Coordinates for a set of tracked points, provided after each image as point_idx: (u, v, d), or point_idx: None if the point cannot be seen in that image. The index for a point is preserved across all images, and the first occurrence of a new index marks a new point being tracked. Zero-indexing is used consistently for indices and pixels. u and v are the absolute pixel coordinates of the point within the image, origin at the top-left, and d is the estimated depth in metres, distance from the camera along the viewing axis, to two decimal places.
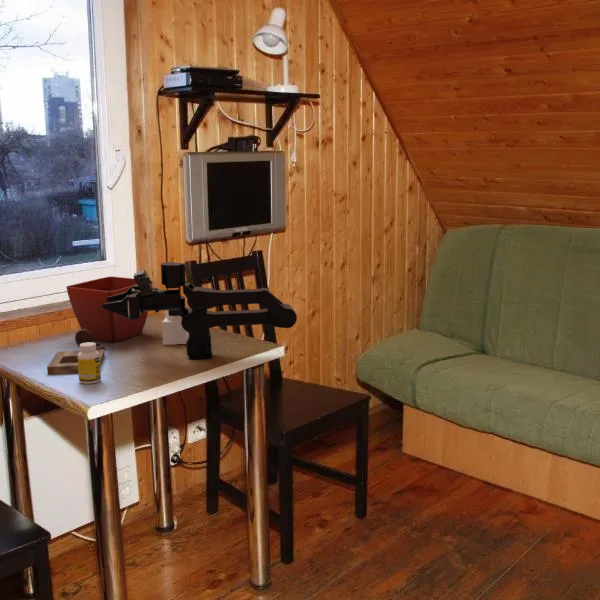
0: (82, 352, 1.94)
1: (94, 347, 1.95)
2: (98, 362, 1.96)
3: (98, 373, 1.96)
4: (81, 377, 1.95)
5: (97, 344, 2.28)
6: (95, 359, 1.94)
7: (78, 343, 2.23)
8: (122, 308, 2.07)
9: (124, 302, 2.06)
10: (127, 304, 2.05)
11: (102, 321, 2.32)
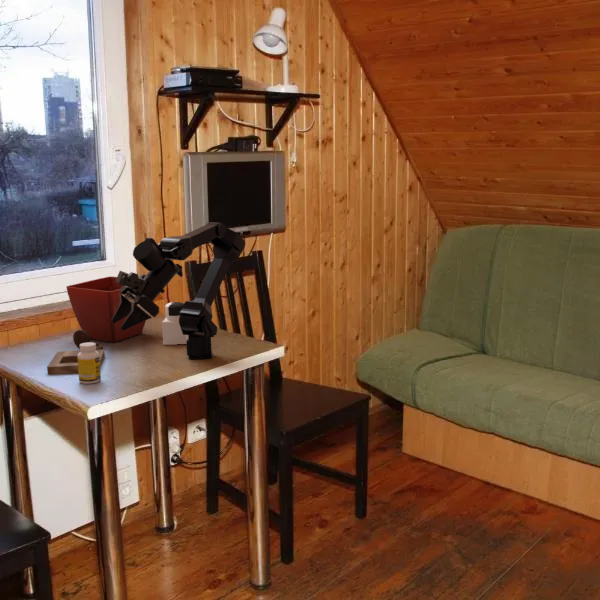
0: (82, 352, 1.94)
1: (94, 347, 1.95)
2: (98, 362, 1.96)
3: (98, 373, 1.96)
4: (81, 377, 1.95)
5: (96, 344, 2.28)
6: (95, 359, 1.94)
7: (76, 343, 2.23)
8: (138, 315, 1.94)
9: (136, 309, 1.93)
10: (140, 308, 1.92)
11: (102, 321, 2.32)
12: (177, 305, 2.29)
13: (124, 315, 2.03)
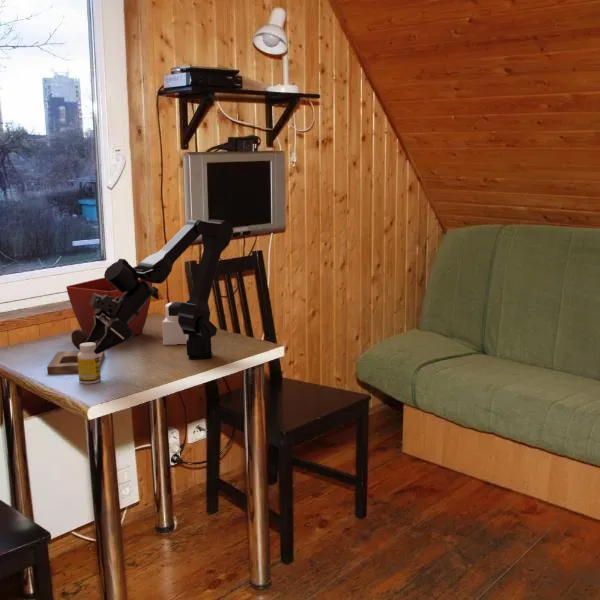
0: (82, 352, 1.94)
1: (94, 347, 1.95)
2: (98, 362, 1.96)
3: (98, 373, 1.96)
4: (81, 377, 1.95)
5: None
6: (95, 359, 1.94)
7: (74, 343, 2.23)
8: (112, 339, 1.92)
9: (109, 333, 1.91)
10: (114, 332, 1.90)
11: None
12: (177, 305, 2.29)
13: (98, 337, 2.01)
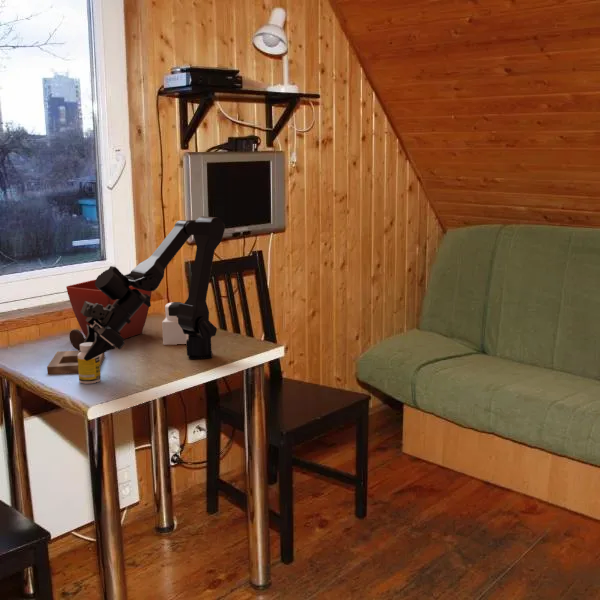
0: (82, 352, 1.94)
1: None
2: (98, 362, 1.96)
3: (98, 373, 1.96)
4: (81, 377, 1.95)
5: None
6: (95, 359, 1.94)
7: (72, 342, 2.24)
8: (102, 345, 1.93)
9: (99, 340, 1.92)
10: (103, 339, 1.91)
11: None
12: (177, 305, 2.29)
13: None
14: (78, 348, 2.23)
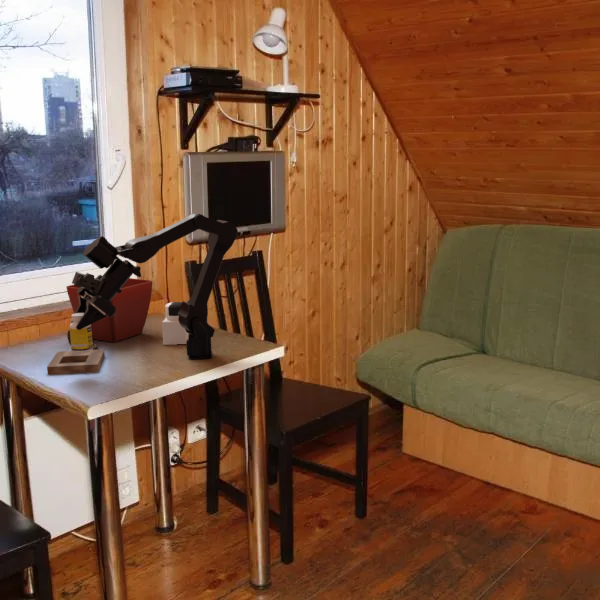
0: (74, 322, 1.98)
1: None
2: (90, 332, 2.00)
3: (90, 342, 2.00)
4: (74, 346, 1.99)
5: (93, 344, 2.28)
6: (86, 328, 1.98)
7: (69, 342, 2.24)
8: (93, 314, 1.97)
9: (90, 309, 1.96)
10: (95, 308, 1.95)
11: (102, 321, 2.32)
12: (177, 305, 2.29)
13: None
14: None
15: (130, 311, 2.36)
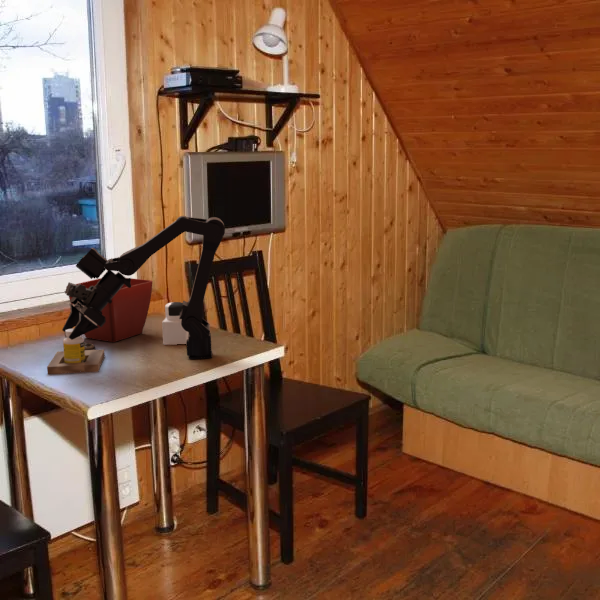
0: (67, 337, 2.07)
1: None
2: (83, 347, 2.09)
3: (83, 357, 2.09)
4: (67, 361, 2.08)
5: (90, 344, 2.28)
6: (79, 343, 2.07)
7: None
8: (86, 325, 2.04)
9: (83, 319, 2.03)
10: (87, 319, 2.02)
11: None
12: (177, 305, 2.29)
13: (74, 324, 2.13)
14: None
15: (130, 311, 2.36)
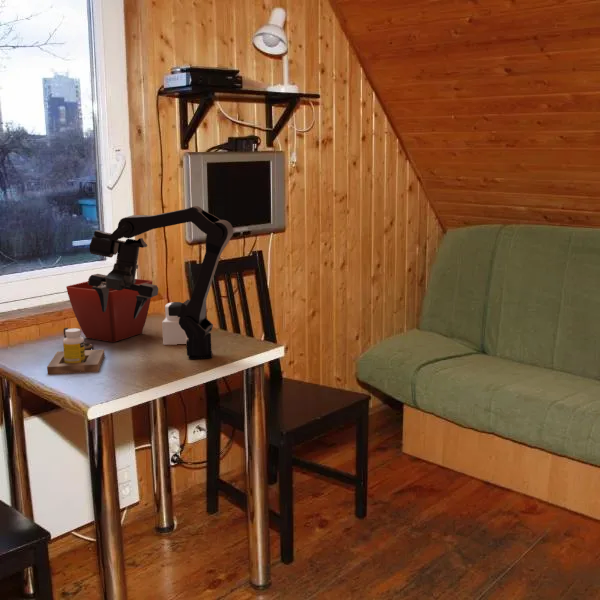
0: (67, 337, 2.07)
1: (79, 332, 2.08)
2: (83, 347, 2.09)
3: (83, 357, 2.09)
4: (67, 361, 2.08)
5: (89, 344, 2.28)
6: (79, 344, 2.07)
7: None
8: None
9: (142, 299, 2.15)
10: (148, 297, 2.15)
11: (102, 321, 2.32)
12: (177, 305, 2.29)
13: (107, 300, 2.19)
14: None
15: (130, 311, 2.36)
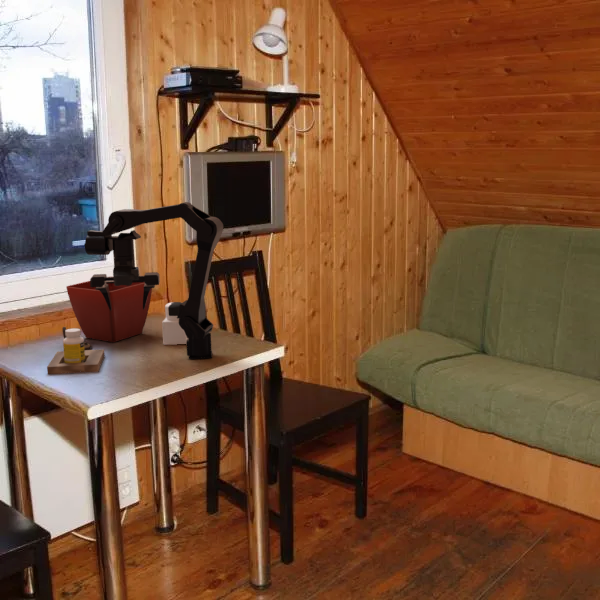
0: (67, 337, 2.07)
1: (79, 332, 2.08)
2: (83, 347, 2.09)
3: (83, 357, 2.09)
4: (67, 361, 2.08)
5: (88, 344, 2.29)
6: (79, 344, 2.07)
7: None
8: None
9: None
10: (154, 285, 2.18)
11: (102, 321, 2.32)
12: (177, 305, 2.29)
13: (110, 298, 2.19)
14: None
15: (130, 311, 2.36)
